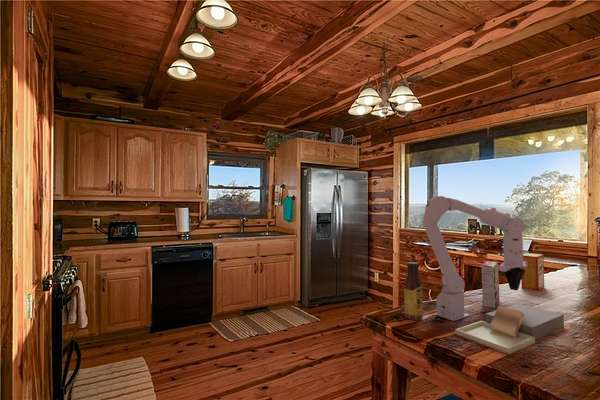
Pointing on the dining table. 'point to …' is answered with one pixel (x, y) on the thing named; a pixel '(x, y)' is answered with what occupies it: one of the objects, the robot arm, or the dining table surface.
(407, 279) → the sauce bottle
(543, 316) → the grey flat block
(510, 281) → the robot arm
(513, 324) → the tile
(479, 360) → the dining table surface
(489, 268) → the candy bar box
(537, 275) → the baking soda box
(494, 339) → the tray
